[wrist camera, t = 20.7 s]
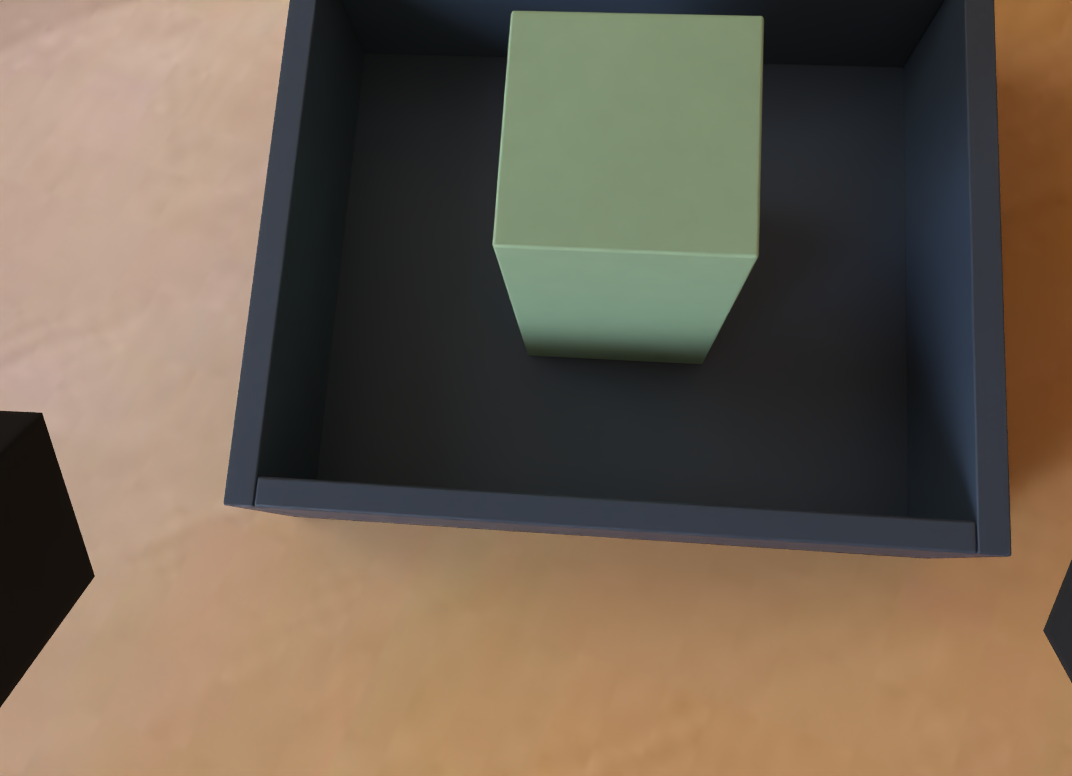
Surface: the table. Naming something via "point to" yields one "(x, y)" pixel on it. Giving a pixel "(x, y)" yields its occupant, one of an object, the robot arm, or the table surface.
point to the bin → (621, 385)
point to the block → (628, 180)
